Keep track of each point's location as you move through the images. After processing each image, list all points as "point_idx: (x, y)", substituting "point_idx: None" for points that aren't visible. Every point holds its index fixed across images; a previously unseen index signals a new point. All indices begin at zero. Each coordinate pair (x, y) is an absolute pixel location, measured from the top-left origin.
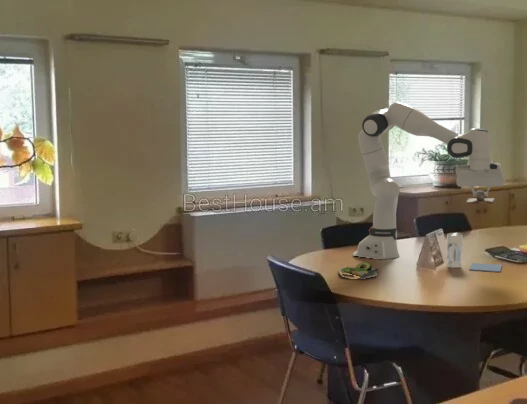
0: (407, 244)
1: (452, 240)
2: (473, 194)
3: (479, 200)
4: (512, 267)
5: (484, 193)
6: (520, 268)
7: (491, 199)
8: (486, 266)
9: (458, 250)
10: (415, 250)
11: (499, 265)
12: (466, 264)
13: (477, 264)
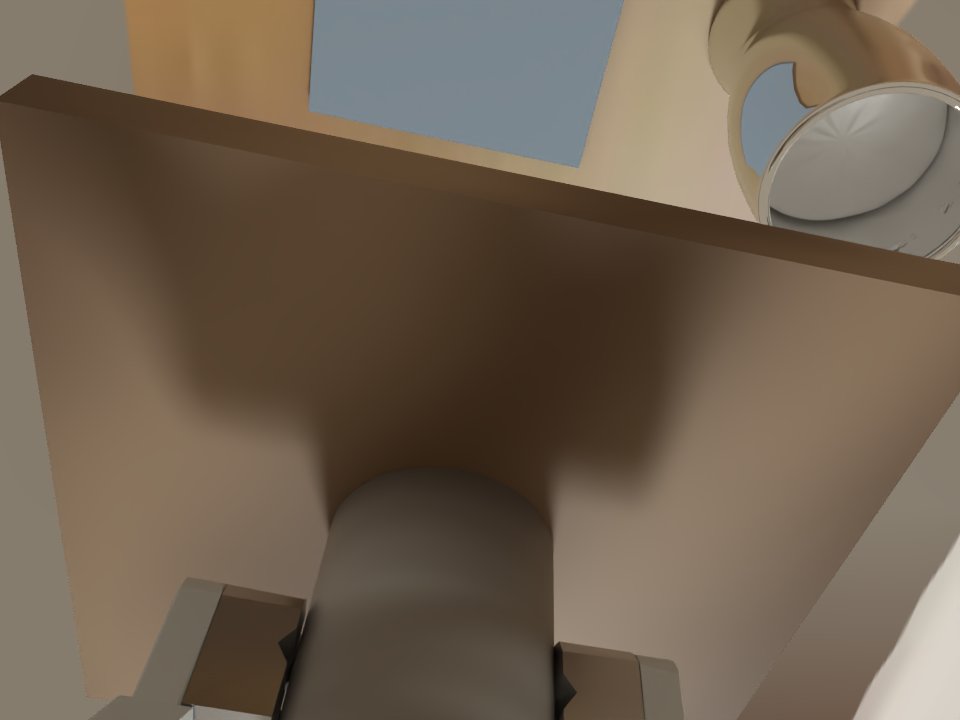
0: (929, 716)
1: (925, 57)
2: (674, 714)
3: (479, 474)
4: (217, 52)
5: (259, 682)
6: (143, 14)
7: (133, 574)
8: (458, 22)
9: (797, 20)
10: (937, 582)
11: (332, 79)
12: (635, 144)
13: (537, 107)
